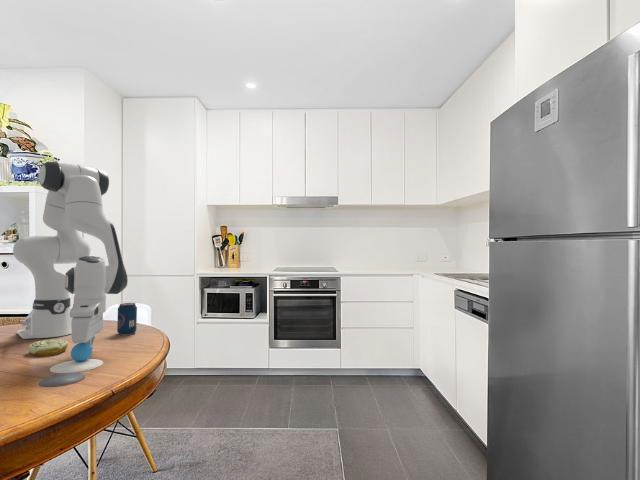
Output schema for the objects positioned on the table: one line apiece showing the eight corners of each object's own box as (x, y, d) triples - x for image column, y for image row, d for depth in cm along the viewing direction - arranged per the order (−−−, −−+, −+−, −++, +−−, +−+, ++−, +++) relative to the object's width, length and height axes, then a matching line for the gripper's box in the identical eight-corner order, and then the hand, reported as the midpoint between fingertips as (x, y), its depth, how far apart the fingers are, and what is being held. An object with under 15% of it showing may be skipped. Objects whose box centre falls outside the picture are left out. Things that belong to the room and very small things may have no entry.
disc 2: (41, 367, 107) (41, 367, 107) (89, 357, 118) (89, 356, 118) (62, 376, 100) (62, 375, 100) (111, 364, 111) (111, 363, 111)
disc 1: (31, 381, 96) (31, 380, 96) (74, 371, 104) (74, 370, 104) (49, 389, 90) (49, 388, 90) (92, 378, 99) (92, 377, 99)
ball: (67, 345, 114) (66, 363, 111) (78, 339, 112) (77, 358, 109) (85, 346, 118) (84, 363, 116) (96, 340, 116) (95, 358, 114)
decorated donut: (26, 359, 116) (27, 347, 116) (29, 351, 125) (29, 340, 125) (67, 354, 122) (67, 342, 122) (67, 347, 130) (67, 336, 131)
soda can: (113, 333, 151) (114, 304, 151) (130, 330, 156) (131, 302, 157) (123, 336, 147) (123, 305, 147) (139, 333, 153) (140, 303, 153)
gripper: (88, 303, 129) (87, 343, 128) (67, 312, 109) (66, 360, 109) (108, 302, 131) (107, 342, 130) (92, 311, 111) (90, 358, 111)
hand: (88, 350), depth 119 cm, fingers closed
